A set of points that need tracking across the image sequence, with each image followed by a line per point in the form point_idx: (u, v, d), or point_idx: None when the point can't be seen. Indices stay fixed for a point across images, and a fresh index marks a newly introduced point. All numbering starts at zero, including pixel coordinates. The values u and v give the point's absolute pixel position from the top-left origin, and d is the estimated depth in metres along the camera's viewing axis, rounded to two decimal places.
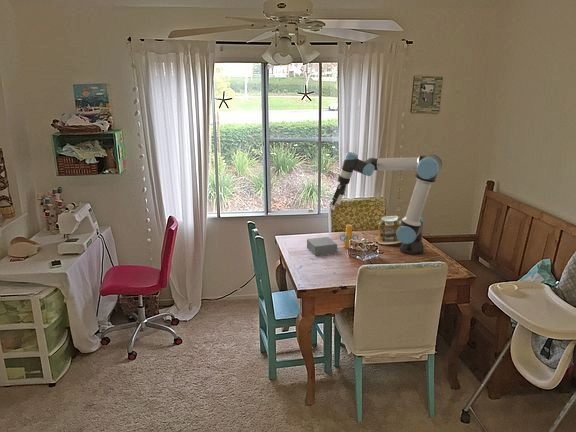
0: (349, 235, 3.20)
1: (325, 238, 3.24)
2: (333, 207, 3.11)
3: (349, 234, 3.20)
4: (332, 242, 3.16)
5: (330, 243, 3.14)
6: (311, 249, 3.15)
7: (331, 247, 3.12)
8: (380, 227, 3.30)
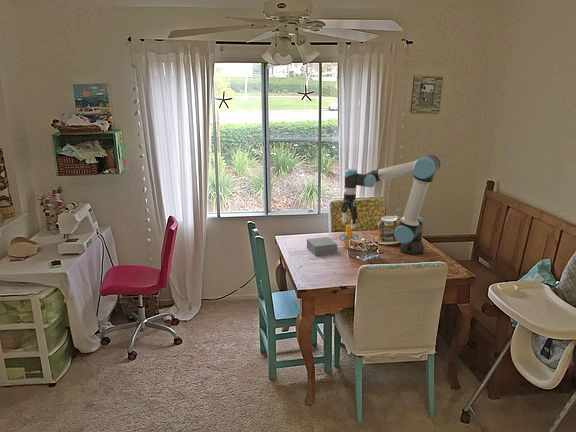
0: (349, 235, 3.20)
1: (325, 238, 3.24)
2: (354, 225, 3.14)
3: (349, 234, 3.20)
4: (332, 242, 3.16)
5: (330, 243, 3.14)
6: (311, 249, 3.15)
7: (331, 247, 3.12)
8: (379, 227, 3.30)
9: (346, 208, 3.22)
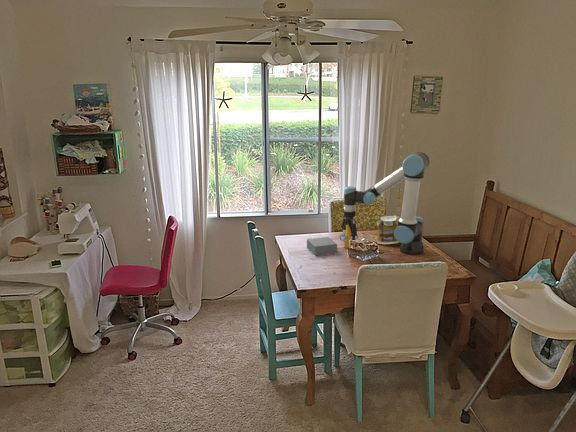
0: (349, 235, 3.20)
1: (325, 238, 3.24)
2: None
3: (349, 234, 3.20)
4: (332, 242, 3.16)
5: (330, 243, 3.14)
6: (311, 249, 3.15)
7: (331, 247, 3.12)
8: (379, 227, 3.30)
9: None
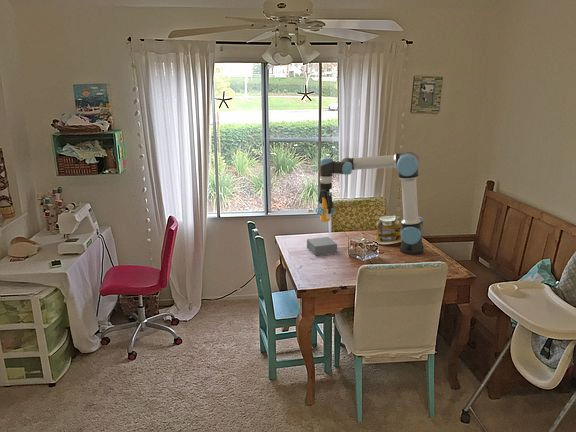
0: (325, 208, 3.10)
1: (325, 238, 3.24)
2: (329, 215, 3.07)
3: (325, 207, 3.10)
4: (332, 242, 3.16)
5: (330, 243, 3.14)
6: (311, 249, 3.15)
7: (331, 247, 3.12)
8: (378, 227, 3.30)
9: None
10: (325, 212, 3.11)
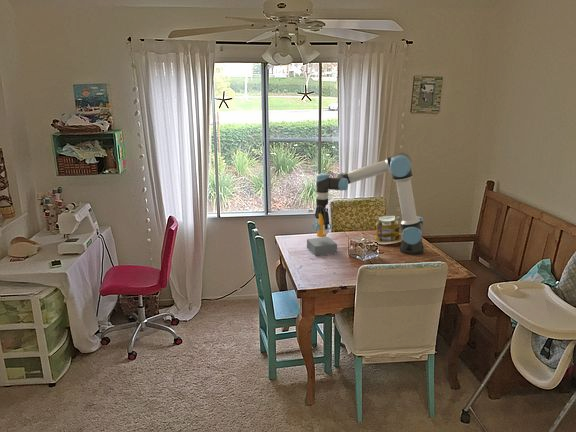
0: (322, 223, 3.12)
1: (325, 238, 3.24)
2: (326, 231, 3.09)
3: (322, 222, 3.12)
4: (332, 242, 3.16)
5: (330, 243, 3.14)
6: (311, 249, 3.15)
7: (331, 247, 3.12)
8: (377, 227, 3.30)
9: None
10: (322, 228, 3.13)
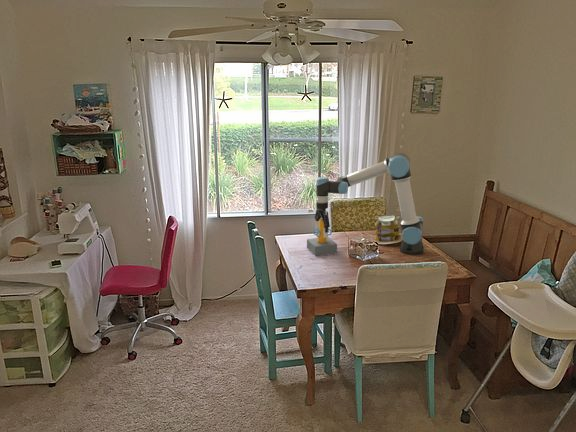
0: (322, 229, 3.13)
1: None
2: (326, 234, 3.09)
3: (322, 228, 3.13)
4: (332, 242, 3.16)
5: (330, 243, 3.14)
6: (311, 249, 3.15)
7: (331, 247, 3.12)
8: (377, 227, 3.30)
9: (319, 216, 3.17)
10: (322, 233, 3.13)
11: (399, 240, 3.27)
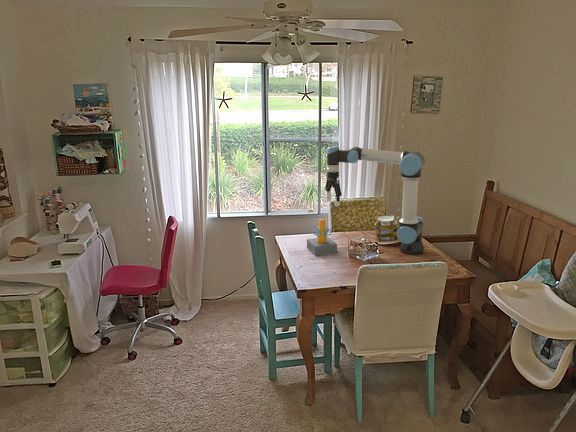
0: (322, 229, 3.13)
1: None
2: (338, 203, 3.11)
3: (322, 228, 3.13)
4: (332, 242, 3.16)
5: (330, 243, 3.14)
6: (311, 249, 3.15)
7: (331, 247, 3.12)
8: (376, 227, 3.30)
9: (330, 187, 3.19)
10: (322, 233, 3.13)
11: (398, 240, 3.27)
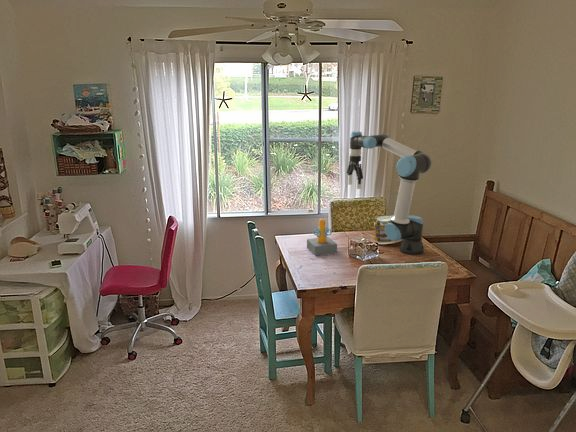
0: (322, 229, 3.13)
1: None
2: (359, 186, 3.24)
3: (322, 228, 3.13)
4: (332, 242, 3.16)
5: (330, 243, 3.14)
6: (311, 249, 3.15)
7: (331, 247, 3.12)
8: (375, 227, 3.30)
9: (352, 170, 3.32)
10: (322, 233, 3.13)
11: None
